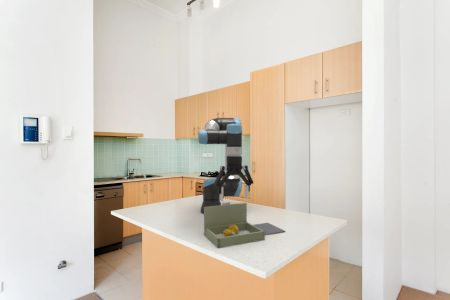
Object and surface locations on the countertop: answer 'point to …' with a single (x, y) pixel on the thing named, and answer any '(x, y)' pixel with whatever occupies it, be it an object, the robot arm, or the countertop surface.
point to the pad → (269, 228)
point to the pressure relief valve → (231, 231)
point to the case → (225, 217)
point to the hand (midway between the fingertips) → (234, 199)
